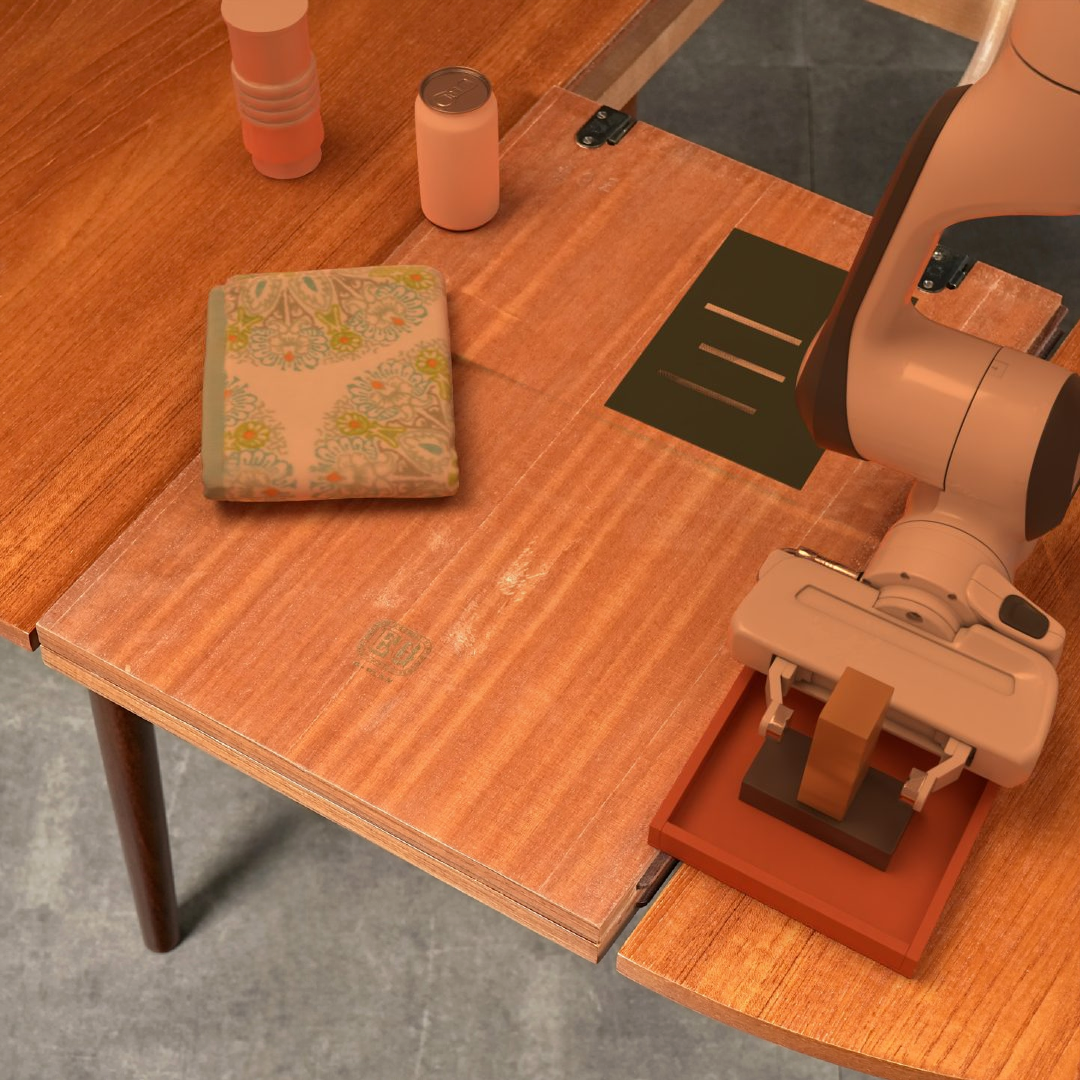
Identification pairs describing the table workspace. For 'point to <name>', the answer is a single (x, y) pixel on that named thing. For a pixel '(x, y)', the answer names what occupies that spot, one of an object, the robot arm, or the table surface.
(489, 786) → the table surface
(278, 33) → the pink ridged cylinder
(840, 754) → the duster
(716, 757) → the tray
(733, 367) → the slate board
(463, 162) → the can
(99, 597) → the table surface
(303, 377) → the towel
